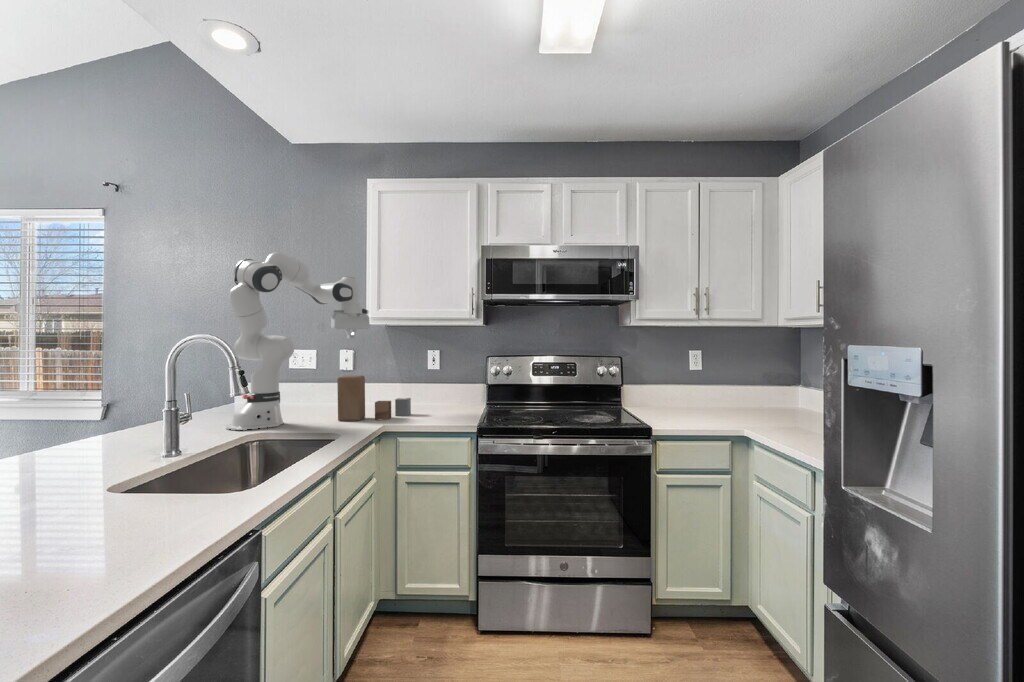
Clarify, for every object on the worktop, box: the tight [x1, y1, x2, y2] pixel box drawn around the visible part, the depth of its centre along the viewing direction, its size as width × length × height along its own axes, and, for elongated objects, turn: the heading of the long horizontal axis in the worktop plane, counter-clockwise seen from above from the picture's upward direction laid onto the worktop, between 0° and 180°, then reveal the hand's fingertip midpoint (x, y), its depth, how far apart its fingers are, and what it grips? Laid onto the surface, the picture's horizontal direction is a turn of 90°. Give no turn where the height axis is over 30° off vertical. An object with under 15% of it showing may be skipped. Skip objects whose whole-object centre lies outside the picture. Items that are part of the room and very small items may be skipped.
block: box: [336, 374, 366, 422], centre depth 238 cm, size 10×10×20 cm
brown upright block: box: [374, 400, 392, 421], centre depth 240 cm, size 6×6×8 cm
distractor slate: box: [394, 397, 412, 417], centre depth 250 cm, size 6×6×8 cm
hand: (350, 338), depth 254 cm, fingers closed
